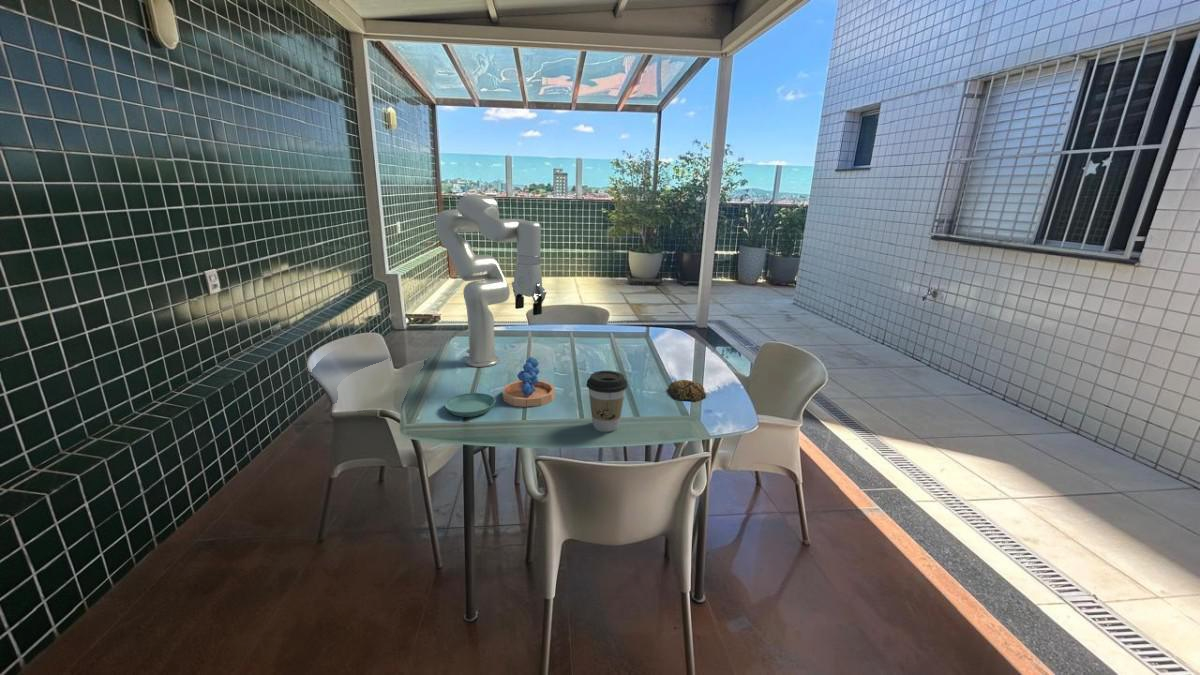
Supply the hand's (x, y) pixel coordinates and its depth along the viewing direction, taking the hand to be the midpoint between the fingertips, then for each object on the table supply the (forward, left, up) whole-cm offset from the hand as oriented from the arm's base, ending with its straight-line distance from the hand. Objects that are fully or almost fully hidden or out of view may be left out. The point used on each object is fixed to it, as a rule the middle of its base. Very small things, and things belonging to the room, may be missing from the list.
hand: (528, 311), depth 163 cm
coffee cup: (+43, -7, -25) cm, 50 cm away
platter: (+11, -9, -25) cm, 29 cm away
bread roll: (+46, +30, -25) cm, 60 cm away
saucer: (+6, -28, -25) cm, 38 cm away
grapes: (+10, -9, -24) cm, 28 cm away
